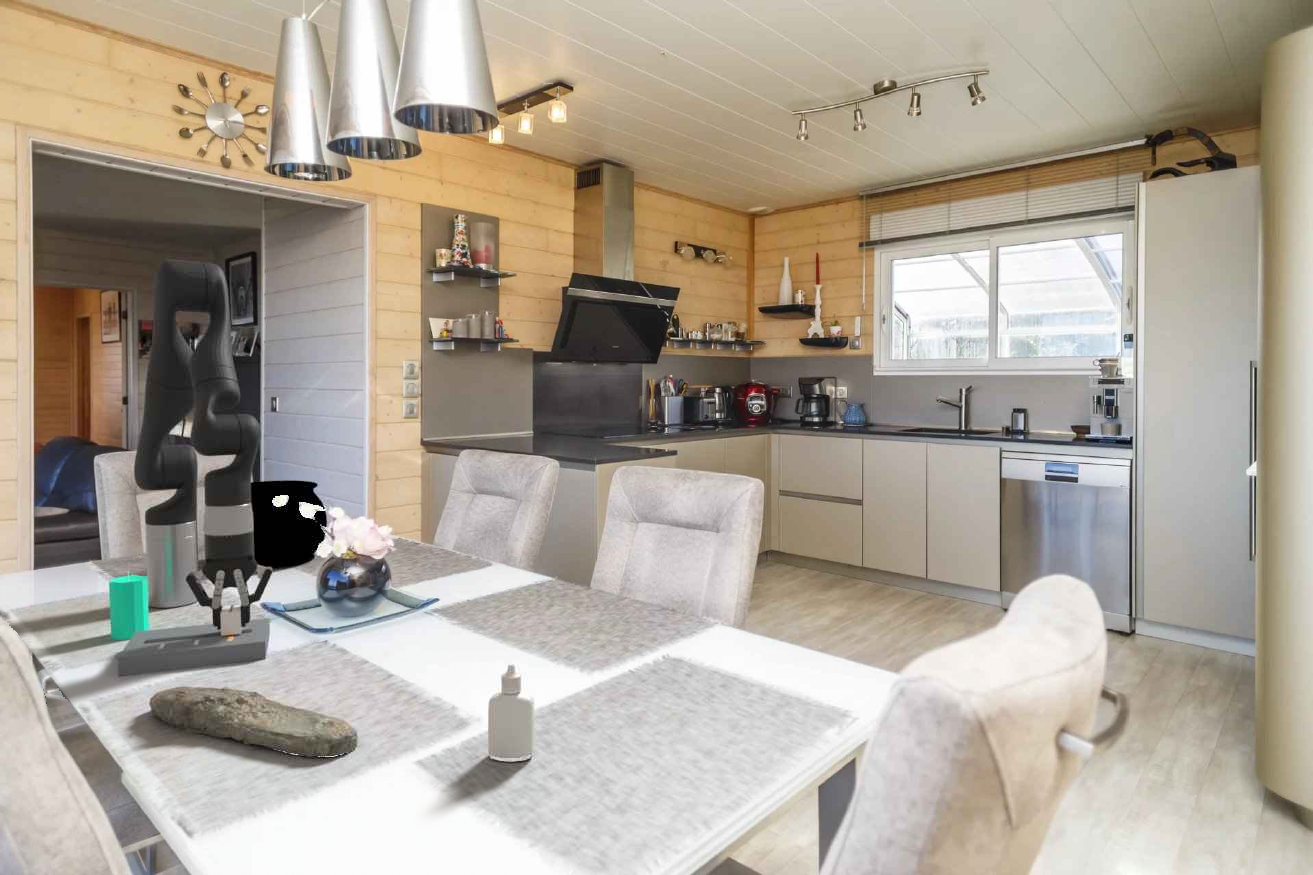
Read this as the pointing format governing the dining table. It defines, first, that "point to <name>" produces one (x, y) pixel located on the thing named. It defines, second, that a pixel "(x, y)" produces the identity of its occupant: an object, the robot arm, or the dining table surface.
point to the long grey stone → (253, 720)
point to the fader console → (192, 647)
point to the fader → (231, 620)
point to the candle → (128, 606)
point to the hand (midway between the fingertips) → (231, 626)
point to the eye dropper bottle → (511, 719)
